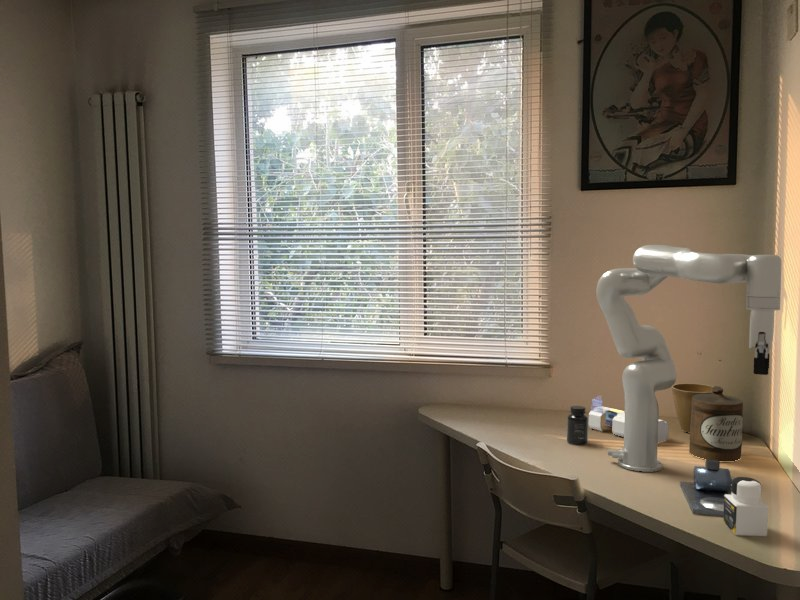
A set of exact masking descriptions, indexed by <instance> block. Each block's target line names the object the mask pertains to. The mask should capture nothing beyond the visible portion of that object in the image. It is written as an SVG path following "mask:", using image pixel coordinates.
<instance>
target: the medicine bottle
mask: <svg viewBox="0 0 800 600" xmlns="http://www.w3.org/2000/svg"><path fill="white" fill-rule="evenodd" d="M733 478H734V479H733V480H732V484H731V486H732V495H730V494H725V495H724V515H723V517H722V519H723V520H722V523H723V524H724V526H726V527H727V528H728V530H729V531H730V532H732V534H733V535H734V536H742V537H743V536H745V537H746V536H747V537H768V522H769V521H768V519H769V506H768V505H767V504H765V503H764V501H763V500H761V498H762V484H761V482H760V481H758V480H757V479H756V478H752V477H747V476H738V477H733Z"/></svg>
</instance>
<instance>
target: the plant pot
mask: <svg viewBox="0 0 800 600" xmlns="http://www.w3.org/2000/svg"><path fill="white" fill-rule="evenodd" d="M713 387H714V386H712V385H708V384H701V383H674V385H673V386H672V387H671V393H672V396H673V398H672V399H673V404H674V408H675V412H676V415H677V419H678V423H679V425H680V428H681V430H684V431H686V432H690V425H691V411H692V396H694V395H697V394H712V393H713V392H712V391H711V389H712V388H713Z"/></svg>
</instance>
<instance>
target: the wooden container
mask: <svg viewBox="0 0 800 600" xmlns="http://www.w3.org/2000/svg"><path fill="white" fill-rule="evenodd" d="M711 391H712V392H713V393H712V394H697V395H694V396H692V411H691V425H690V434H689V447H688V449H689V450H688V451H689V454H690V453H691V454H690V455H692V454H693V455H694V456H693V455H692V456H693V457H695V456H697V457H700V458H704V459H714V460H718V461H734V462H736V461H735V460H738V459H740V458H742V448H743V447H742V445H743V444H742V443H743V421H744V420H743V417H744V415H743V410H744V401H743V399H741V398H739V397H736V396H731V395H726V394H724V388H723V387H721V386H717V385H714V386H713V388H712V389H711ZM697 457H696V458H697ZM700 458H699V459H700ZM704 459H703V460H704ZM740 460H741V459H740ZM738 461H739V460H738Z"/></svg>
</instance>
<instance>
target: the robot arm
mask: <svg viewBox="0 0 800 600" xmlns="http://www.w3.org/2000/svg"><path fill="white" fill-rule="evenodd" d="M632 263H633V266H634V267H623V268H621V267H620V268H614V269H610V270H608V271H606V272H604V273H603V274H602V275H601V276H600V278H599V279H598V281H597V285H596V292H595V293H596V294H595V295H596V299H597V302H598V305H599V307H600V309H601V312H602V314H603V316H604V318H605V320H606V324H607V327H608V329H609V333H610V335H611V338H612V341H613V343H614V346H615V348H616V350H617V353H618V354H619V355H620V357H622V358H624V359H636V358H637V359H638V358H641V359H642V360H639V361H634V362H631V363H629V365H627V366H626V367H625V368H624V369H623V373H622V376H621V378H622V379H621V380H622V386H623V394H624V411H625V424H624V438H623V446H622V447H621V449H620V448H619V449H618V450H615V449H607V457H609V456H610V457H611V458H614V459H617V464H618V466H620V467H621V468H623V469H626V470H629V471H633V470H634V471H635V472H639V471H642V472H641V473H653V472H654V471H655V472H658V471H661V470H662V469H663V462H661V461H660V460H659V459H658V445H659V444H658V419H659V414H660V411H659V410H660V409H659V404H658V403H659V402H658V400H657V397H656V392H658V391H663V390H668V389H670V388H672V386H673V385H675V384H676V381H677V378H678V377H677V375H678V374H677V368H676V366H675V363H674V361H673V357H672V355H671V353H670V349H669V347H668V344H667V342H666V340H665V338H664V335H663V334H662V333H661V331H660V330H659V329H657V328H656V327H654V326H652V325H648V324H647V325H640V323H639V321H638V319H637V316H636V313H635V312H634V309H633V308H632V306H631V305H630V303H628V302H627V301H626V299H625V297H634V296H643V295H645V294H648V293H650V292H651V291H652V290H653V289H655V288H656V287H657V286H658V285H659V284H661V283H662V282H663V281H664V280H666V279H667V278H668V277H671V278H678V279H684V280H690V281H695V282H703V283H711V284H721V285H722V284H737V283H738V284H741V283H746V300H745V301H746V302H745V303H746V304H745V306H746V308H745V309H746V310H749V311H750V314H749V315H750V316H749V335H748V336H749V338H748V339H749V340H748V348H749V349H750V350H752V349H753V348H755V349H754V357H753V374H754V375H761V376H762V375H763V376H768V375H769V369H770V353H769V351H770V350H771V349H772V346H773V341H774V334H775V333H774V332H775V330H774V329H775V311H781V296H782V295H781V293H782V292H781V291H782V286H781V285H782V258H781V257H780V256H779V255H778V254H754V255H753V254H751V255H750V254H743V253H708V252H700V251H699V252H698V251H693V250H692V249H691V248H689V247H683V246H682V247H679V246H671V245H668V244H646V245H642V246H640V247H639V248H637V250H635V252H634V253H633V256H632Z"/></svg>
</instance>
